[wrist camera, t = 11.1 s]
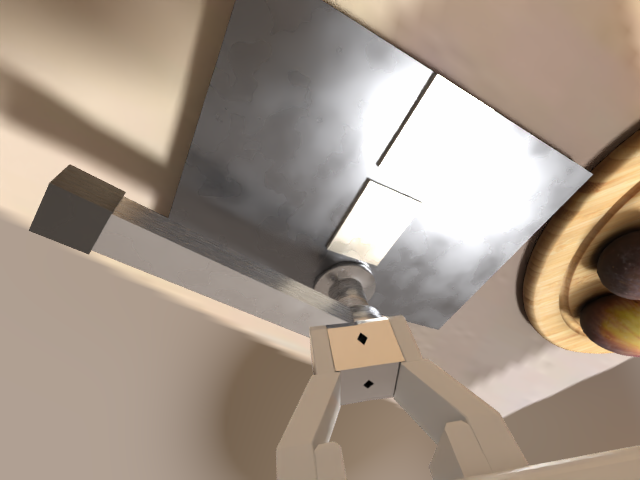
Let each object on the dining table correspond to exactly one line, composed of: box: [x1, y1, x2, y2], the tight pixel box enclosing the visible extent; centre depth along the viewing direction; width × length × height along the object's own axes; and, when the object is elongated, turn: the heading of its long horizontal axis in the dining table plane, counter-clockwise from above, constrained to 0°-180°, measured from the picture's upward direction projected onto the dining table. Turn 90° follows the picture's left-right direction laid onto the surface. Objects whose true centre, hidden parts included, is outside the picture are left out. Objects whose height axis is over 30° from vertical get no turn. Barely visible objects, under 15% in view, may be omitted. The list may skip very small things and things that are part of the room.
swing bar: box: [29, 165, 382, 338], centre depth 20 cm, size 21×4×2 cm, turn 50°
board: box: [168, 0, 593, 330], centre depth 23 cm, size 18×26×5 cm
